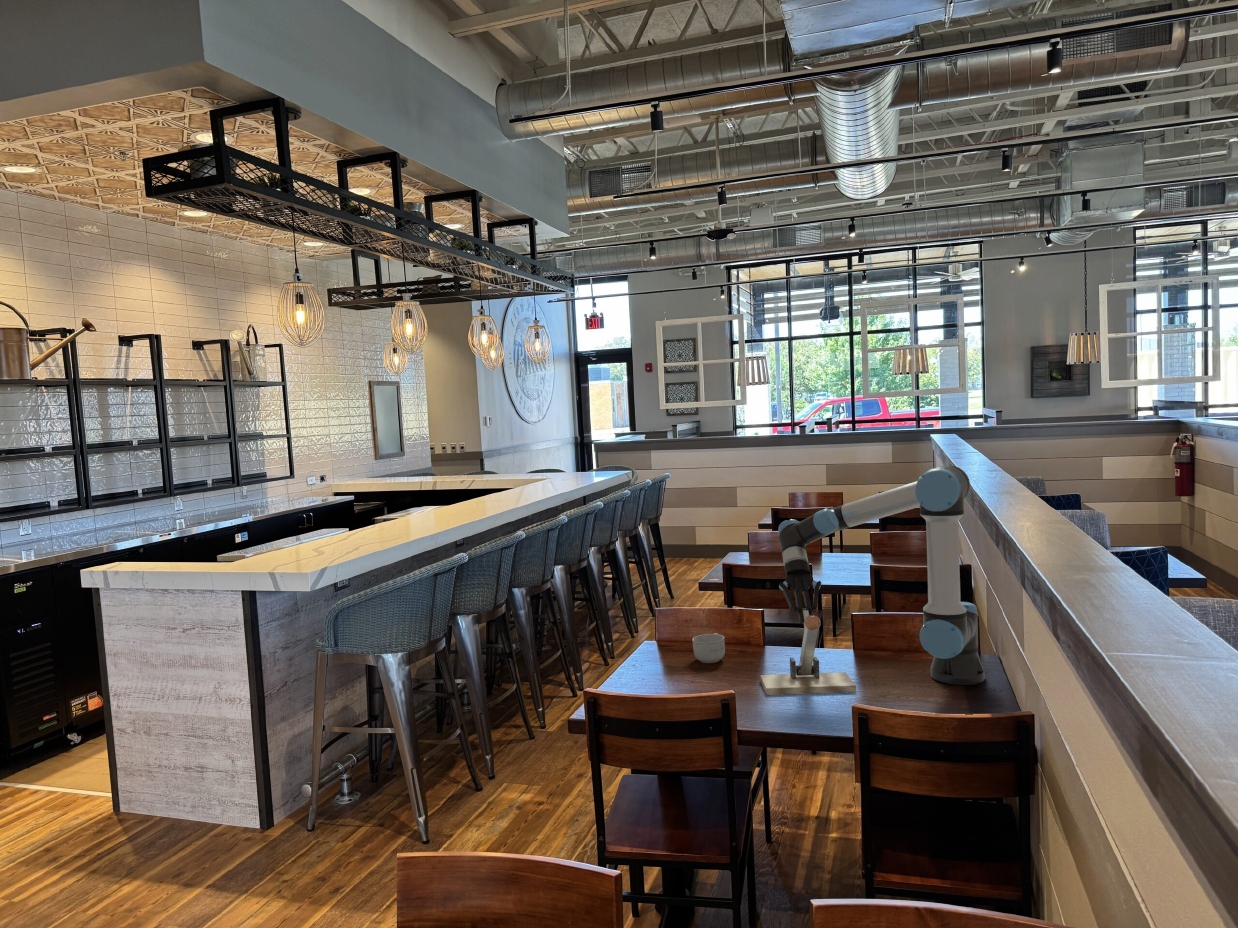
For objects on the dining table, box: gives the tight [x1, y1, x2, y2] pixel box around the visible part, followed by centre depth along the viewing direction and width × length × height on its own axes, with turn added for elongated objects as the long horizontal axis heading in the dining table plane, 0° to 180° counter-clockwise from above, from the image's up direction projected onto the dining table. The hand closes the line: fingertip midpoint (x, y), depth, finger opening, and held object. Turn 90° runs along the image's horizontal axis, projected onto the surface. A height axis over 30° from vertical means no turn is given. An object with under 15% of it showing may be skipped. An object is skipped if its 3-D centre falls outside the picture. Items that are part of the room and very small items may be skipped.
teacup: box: [691, 632, 726, 664], centre depth 273 cm, size 14×11×8 cm
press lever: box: [796, 614, 821, 676], centre depth 237 cm, size 5×4×27 cm
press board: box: [759, 656, 857, 696], centre depth 242 cm, size 26×12×8 cm, turn 88°
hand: (808, 632), depth 236 cm, fingers closed
